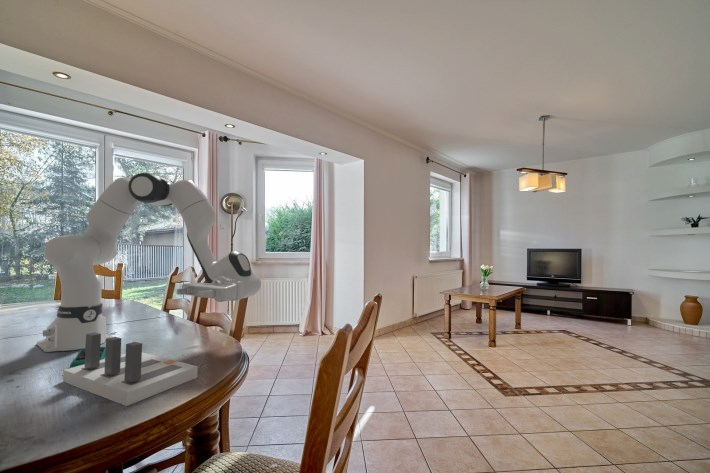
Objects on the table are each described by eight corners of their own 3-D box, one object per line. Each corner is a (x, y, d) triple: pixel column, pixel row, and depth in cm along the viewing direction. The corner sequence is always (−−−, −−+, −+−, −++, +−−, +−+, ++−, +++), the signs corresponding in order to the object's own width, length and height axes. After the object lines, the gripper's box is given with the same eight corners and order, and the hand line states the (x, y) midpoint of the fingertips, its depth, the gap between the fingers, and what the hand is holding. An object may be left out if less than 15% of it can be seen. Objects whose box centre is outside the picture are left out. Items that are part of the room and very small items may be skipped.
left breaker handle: (84, 367, 85) (86, 334, 85) (93, 364, 87) (94, 332, 87) (90, 368, 84) (92, 335, 84) (99, 366, 85) (100, 333, 86)
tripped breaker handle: (104, 372, 81) (106, 338, 82) (113, 370, 83) (114, 336, 83) (111, 375, 80) (112, 340, 80) (120, 372, 82) (121, 338, 82)
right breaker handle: (124, 380, 77) (126, 343, 77) (133, 377, 79) (134, 341, 79) (131, 382, 76) (133, 345, 76) (140, 379, 78) (142, 343, 78)
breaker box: (62, 381, 84) (63, 369, 84) (135, 360, 100) (135, 350, 100) (126, 406, 71) (127, 391, 72) (197, 377, 88) (197, 365, 88)
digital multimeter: (107, 354, 107) (107, 345, 107) (102, 368, 94) (102, 357, 94) (78, 357, 103) (79, 348, 103) (69, 373, 90) (69, 362, 90)
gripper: (203, 277, 118) (167, 280, 105) (245, 281, 109) (210, 285, 96) (202, 295, 118) (166, 300, 105) (244, 300, 109) (209, 306, 96)
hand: (187, 293), depth 101 cm, fingers open, 8 cm apart
